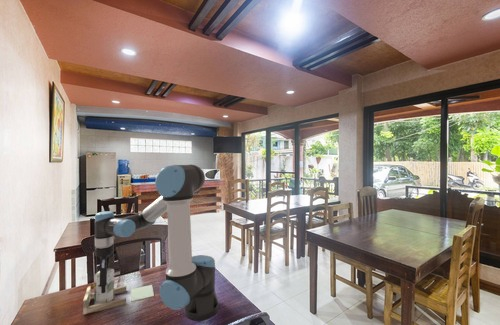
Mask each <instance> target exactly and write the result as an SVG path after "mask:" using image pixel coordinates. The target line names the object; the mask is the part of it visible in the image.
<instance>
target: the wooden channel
mask: <svg viewBox="0 0 500 325" xmlns="http://www.w3.org/2000/svg"><path fill="white" fill-rule="evenodd" d="M91 287H92V286H91V285H88V286H87V288H86V292H85V294H84V297H83V300H82V305H83V307H82V308H83V310H82V314H83V315H87V314H90V313H96V312H100V311H104V310H107V309H111V308H116V307H120V306H125V305H127V297H125V296H124V297H122V298H121V297H120V298H118V299H112V300H111V301H108V302H104V303H100V304H95V305H94V304H92V305H90V302H91V300H94V292H92V288H91ZM126 292H127V285H123V286H119V287H118V286H117V287H114V295H118V294H122V293H126Z"/></svg>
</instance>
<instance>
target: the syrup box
mask: <svg viewBox="0 0 500 325" xmlns="http://www.w3.org/2000/svg"><path fill="white" fill-rule="evenodd" d="M98 285H100V270H99V271H97V272H96V273H95V274H94V288H93V289H94V292H93V293H94V299H93V300H94V301H93V305H95V304H100V303H104V302H108V301H113V300H114V298H115V297H114V296H115V294H114V288H115V269H114V268H110V267H109V268H107V299H103V300H100V286H99V287H98Z"/></svg>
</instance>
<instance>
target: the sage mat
mask: <svg viewBox="0 0 500 325" xmlns="http://www.w3.org/2000/svg"><path fill="white" fill-rule="evenodd" d="M154 297H155V293H154V288H153V284H150V285H145V286H140V287H136V288H131V289H130V302H131V303H133V302H136V301H141V300H144V299H149V298H154Z"/></svg>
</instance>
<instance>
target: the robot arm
mask: <svg viewBox="0 0 500 325" xmlns="http://www.w3.org/2000/svg"><path fill="white" fill-rule="evenodd" d="M205 182H206V175H205V172H204V170H203V169H202V168H201V167H199V166H198V165H195V164H172V165H167V166H164V167H163V168H161V169H160V170H159V172H157V174H156V178H155V183H154V184H155V185H154V186H155V190H156V192H158V194H159V195H160V196H158V197H157V199H155V200H154V201H153V202H152V203H150V204H149V205H148V206H147V207H145V208H144V209H143V210H142V211H141V212H139V213H136V214H132V215H128V216H125V217H115V214H114V213H115V212H113V211H109V210H108V211H100V212H97V213H96V214H95V216H94V256H95V257H99V259H98V264H99V268H98V269H99V271H100V285H98V287H99V286H100V300H103V299H107V268H109V269H110V267H109V266H110V258H111V257H110V256H111V255H113V253H115V252H114V251H115V250H114V249H115V245H114V242H115V241H114V240H116V237H119V238H120V237H121V238H128V237H131V236H132V234H134V232H136V231H139V230H142V229H145V228H149V227H151V226H153V225H154V224H156V221H157V220H158V219H159V218H161V216H163V215H164V214H165V213H167V237H168V238H167V239H168V240H167V242H168V260H169V261H168V263H169V264H168V265H169V266H168V267H167V268H166V269H165V280H164V281H163V282H162V283H161V285H160V286H159V291H158V292H159V296H160V297H159V298H160V299H161V301H162V303H163V304H164V305H165V306H166V307H167V308H169V309H170V310H172V311H179V310H181V309H183V313H184V315H185V317H186V318H188V319H190V320H193V321H202V320H203V321H204V320H207V319H209V318H212V317H213V316H215V314H217V313H218V311H219V298H218V296H217V293H216V288H215V287H216V286H215V284H216V261H215V258H214V257H212V256H209V255H207V254H206V255H205V254H204V255H201V254H200V255H199V254H198V255H193V250H192V247H193V246H192V226H191V225H192V222H191V202H192V201H193V200H194V194H195V193H197V192H198V191H199V190H200V189H202V188H203V186H204V184H205Z"/></svg>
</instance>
